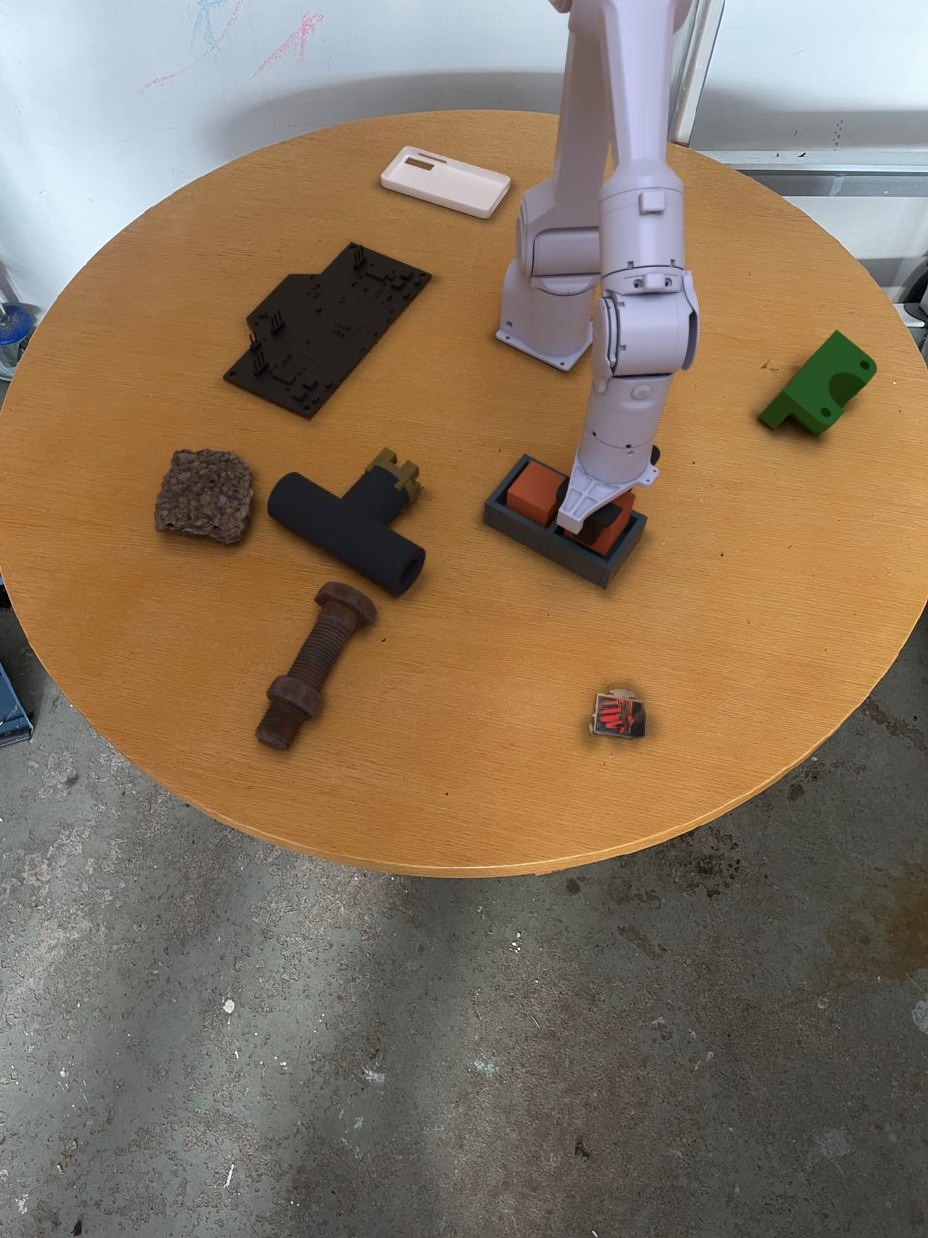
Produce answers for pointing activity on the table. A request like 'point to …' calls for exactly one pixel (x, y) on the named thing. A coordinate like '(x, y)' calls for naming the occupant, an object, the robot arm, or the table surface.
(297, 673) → the bolt
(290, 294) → the circuit board
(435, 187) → the phone case
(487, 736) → the table surface
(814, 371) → the clamp
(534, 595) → the table surface
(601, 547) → the red cube
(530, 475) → the orange cube
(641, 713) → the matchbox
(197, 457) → the concrete sample
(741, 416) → the table surface
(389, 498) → the pipe connector
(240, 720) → the table surface
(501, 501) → the grey rectangular tray
